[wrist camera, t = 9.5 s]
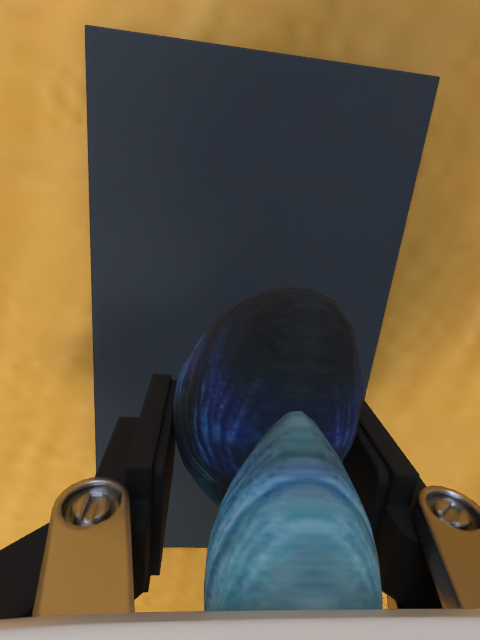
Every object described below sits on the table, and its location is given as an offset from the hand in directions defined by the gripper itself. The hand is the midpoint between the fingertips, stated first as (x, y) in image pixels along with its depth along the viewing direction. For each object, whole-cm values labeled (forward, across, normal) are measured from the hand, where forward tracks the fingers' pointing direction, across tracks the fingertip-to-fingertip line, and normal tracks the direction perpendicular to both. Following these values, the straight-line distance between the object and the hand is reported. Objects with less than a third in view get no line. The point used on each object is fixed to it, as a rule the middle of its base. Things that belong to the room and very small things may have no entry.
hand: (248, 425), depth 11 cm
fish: (+2, 0, 0) cm, 2 cm away
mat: (+5, 0, 0) cm, 5 cm away
